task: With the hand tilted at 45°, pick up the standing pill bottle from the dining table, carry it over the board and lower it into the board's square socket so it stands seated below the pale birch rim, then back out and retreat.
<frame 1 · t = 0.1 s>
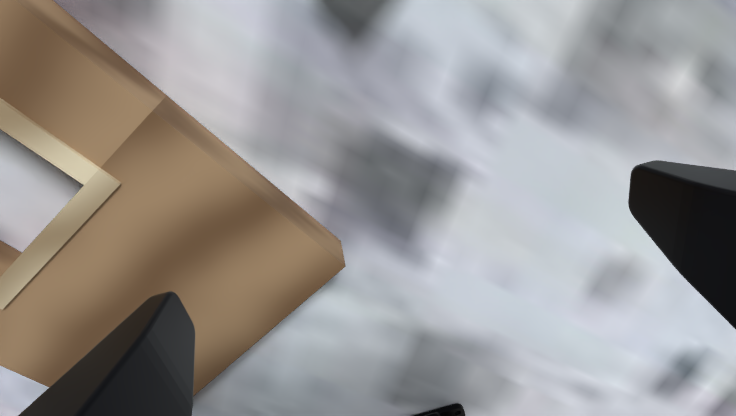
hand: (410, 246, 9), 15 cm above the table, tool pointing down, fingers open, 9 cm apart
socket board: (72, 214, 23), on the table
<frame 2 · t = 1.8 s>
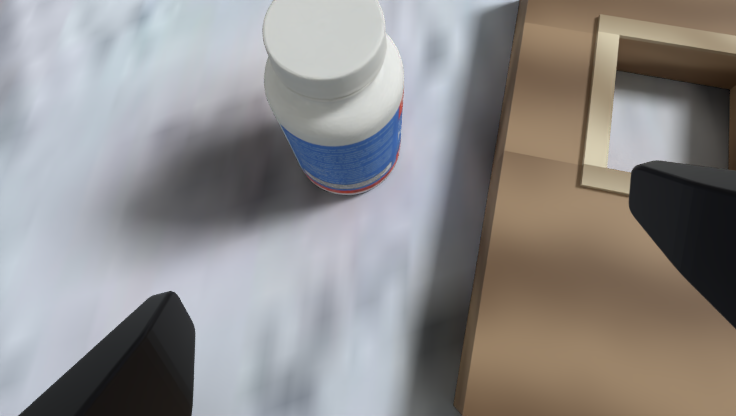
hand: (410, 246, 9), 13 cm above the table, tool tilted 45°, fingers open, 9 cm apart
socket board: (652, 210, 22), on the table
pill bottle: (348, 149, 24), on the table
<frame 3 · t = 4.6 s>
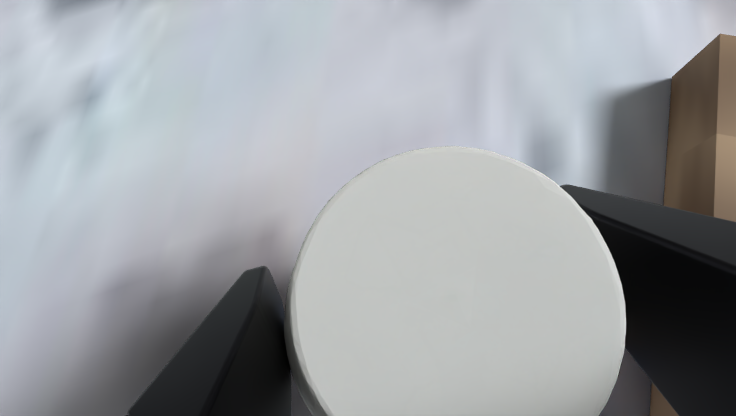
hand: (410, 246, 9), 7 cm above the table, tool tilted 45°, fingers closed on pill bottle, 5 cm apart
pill bottle: (412, 325, 15), on the table, touching gripper
when the fingers open (8 cm above the table, at t = 9.6 s): pill bottle drops 2 cm, resting in socket board.
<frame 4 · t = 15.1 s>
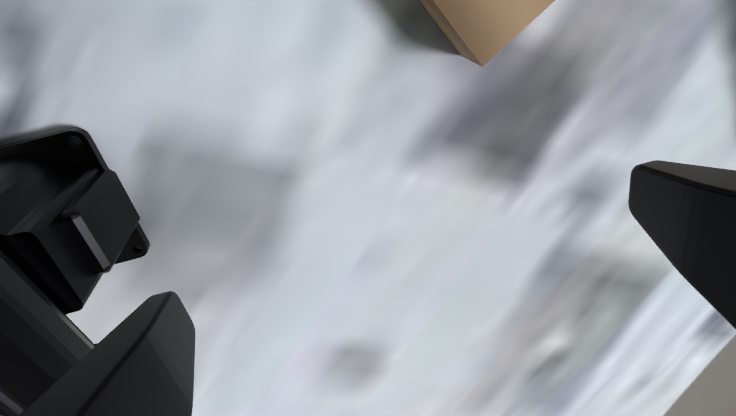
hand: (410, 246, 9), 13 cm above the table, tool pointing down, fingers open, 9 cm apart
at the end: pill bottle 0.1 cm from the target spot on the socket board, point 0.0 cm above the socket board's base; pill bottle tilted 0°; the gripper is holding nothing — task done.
